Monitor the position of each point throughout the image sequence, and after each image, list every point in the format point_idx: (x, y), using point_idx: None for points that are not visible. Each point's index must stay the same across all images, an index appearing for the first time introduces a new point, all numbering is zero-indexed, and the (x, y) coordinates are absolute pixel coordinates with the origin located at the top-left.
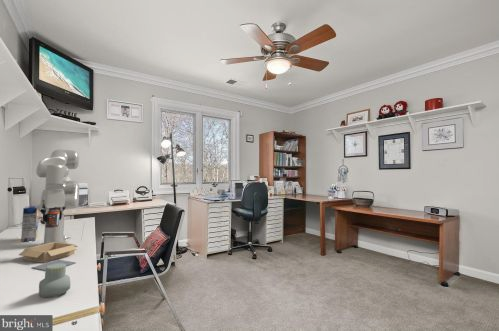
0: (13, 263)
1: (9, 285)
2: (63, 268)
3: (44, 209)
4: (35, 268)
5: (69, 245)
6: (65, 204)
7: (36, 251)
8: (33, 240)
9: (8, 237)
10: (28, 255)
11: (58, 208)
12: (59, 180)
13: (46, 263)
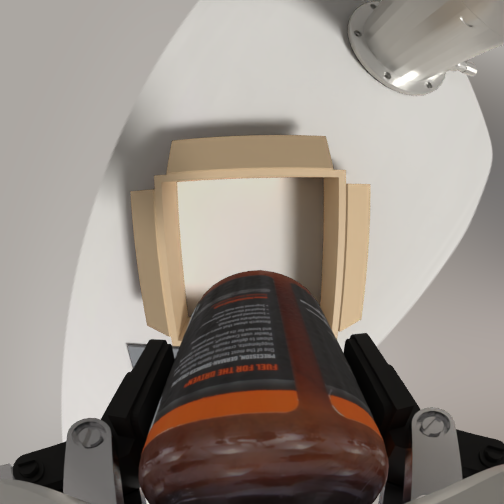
0: (118, 211)
1: (68, 401)
2: None
3: (87, 501)
4: (132, 363)
5: (332, 308)
6: None
7: (159, 293)
8: None
9: None
10: (139, 266)
11: (430, 483)
12: None
13: (175, 352)
